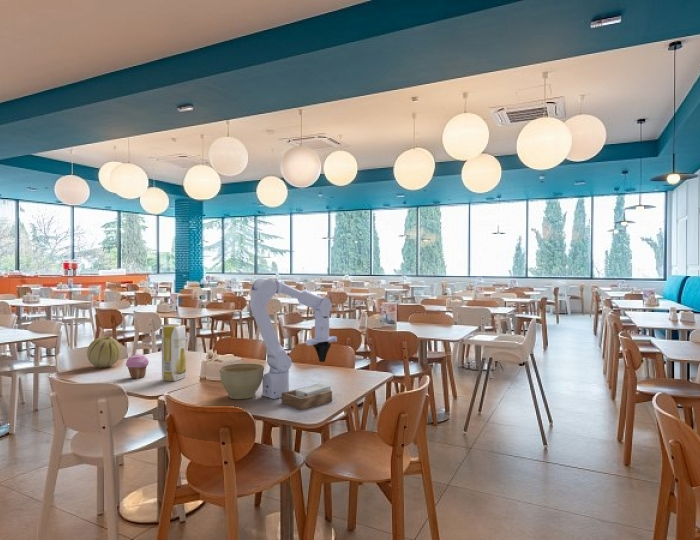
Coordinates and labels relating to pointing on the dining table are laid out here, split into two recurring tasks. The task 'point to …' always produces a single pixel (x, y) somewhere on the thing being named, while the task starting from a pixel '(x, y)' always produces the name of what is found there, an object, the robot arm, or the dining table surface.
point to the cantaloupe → (104, 352)
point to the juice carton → (173, 352)
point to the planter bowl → (241, 379)
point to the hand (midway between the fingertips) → (322, 361)
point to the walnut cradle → (305, 399)
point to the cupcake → (137, 365)
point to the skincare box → (312, 390)
